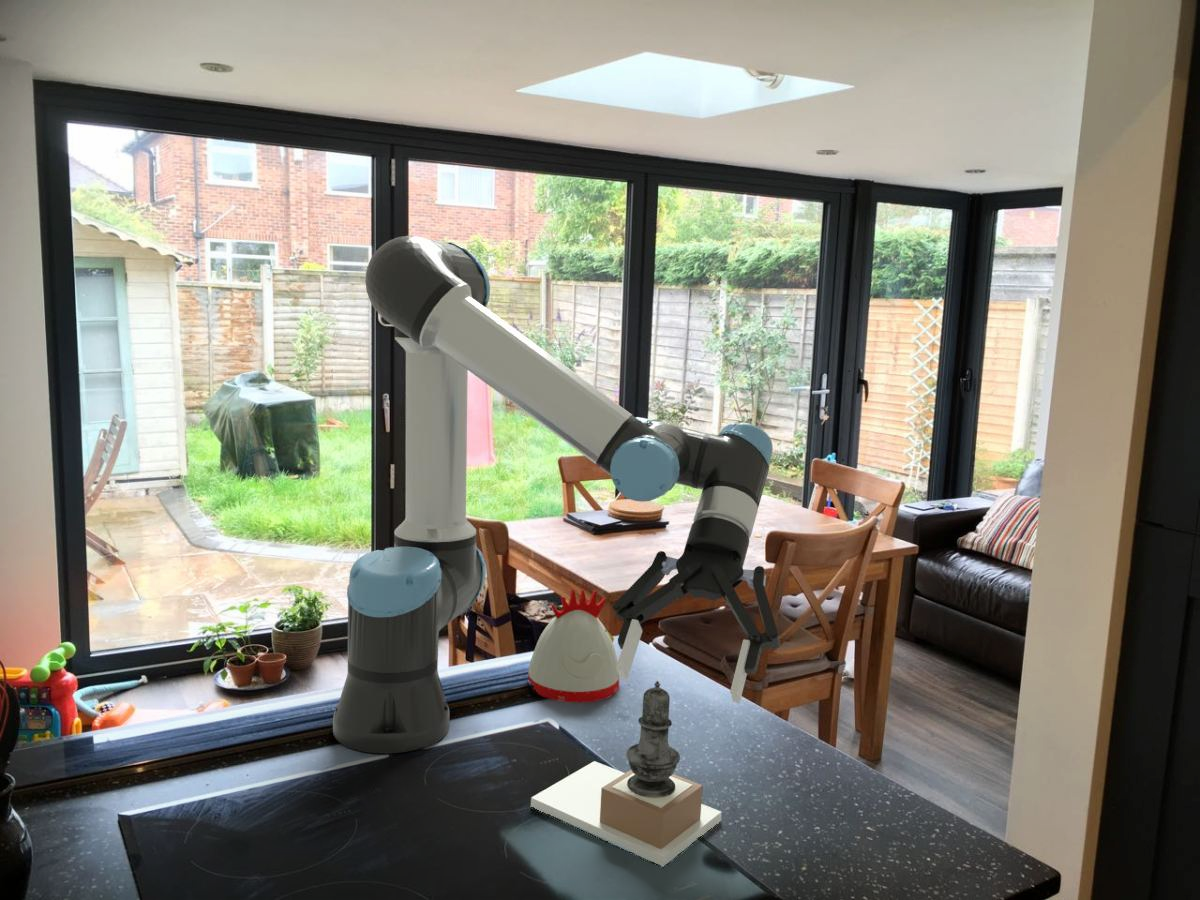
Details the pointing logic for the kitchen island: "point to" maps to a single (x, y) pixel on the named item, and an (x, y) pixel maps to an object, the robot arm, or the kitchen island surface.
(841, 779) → the kitchen island surface
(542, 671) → the kitchen timer
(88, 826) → the kitchen island surface
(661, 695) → the salt shaker
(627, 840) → the build board
